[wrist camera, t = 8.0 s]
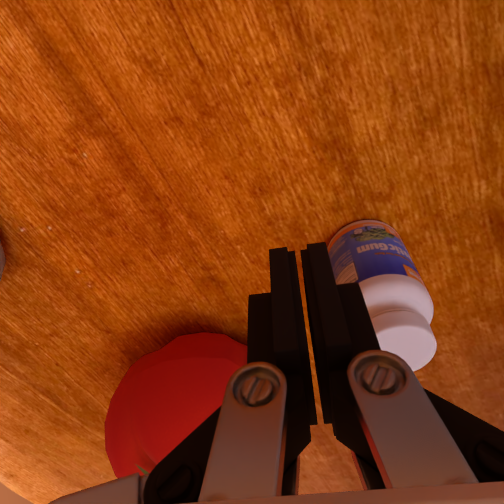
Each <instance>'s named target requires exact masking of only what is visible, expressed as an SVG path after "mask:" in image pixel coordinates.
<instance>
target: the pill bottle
mask: <svg viewBox="0 0 504 504" xmlns="http://www.w3.org/2000/svg"><path fill="white" fill-rule="evenodd" d="M327 250H328V254H329V258H330V262H331V266H332V270H333V273H334V277H335V281H336V285H337V284H345V283H354V282H358V283H359V286H360V288H361V291H362V294H363V297H364V300H365V303H366V306H367V309H368V312H369V315H370V318H371V321H372V324H373V327H374V330H375V333H376V336H377V339H378V342H379V345H380V348H381V350H383V351H388V352H391V353H394V354H396V355H398V356H399V357H401V358H402V359H403V360H405V362H406V363H407V364H408V365H409V366H410V368H411V369H412V371H416V370H418V369H420V368H422V367H423V366H425V365H426V364H427V363H428V362H429V361H430V360H431V359H432V358H433V356H434V354H435V352H436V347H437V344H436V339H435V337H434V335H433V332H432V330H431V328H430V325H429V324H430V322H431V320H432V317H433V302H432V299H431V297H430V295H429V293H428V291H427V289H426V287H425V285H424V283H423V281H422V279H421V277H420V275H419V273H418V271H417V269H416V268H415V266H414V264H413V262H412V260H411V258H410V256H409V254H408V251H407V250H406V248H405V246H404V244H403V242H402V240H401V238H400V236H399V235H398V233H397V232H396V231H395V230H394V229H393V228H392V227H391V226H389V225H387V224H386V223H383V222H380V221H376V220H362V221H357V222H354V223H351V224H349V225H347V226H345V227H344V228H342V229H341V230H340V231H338V232H337V233H336V234H335V236H334V237H333V238H332V239H331V241H330V243H329V245H328V249H327Z"/></svg>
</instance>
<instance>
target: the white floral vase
mask: <svg viewBox="0 0 504 504" xmlns="http://www.w3.org/2000/svg"><path fill="white" fill-rule="evenodd" d="M5 263H6V258H5V254H4V250H3V248H2V245H1V240H0V280H1V277H2V273H3V270H4V266H5Z"/></svg>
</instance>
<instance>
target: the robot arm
mask: <svg viewBox="0 0 504 504" xmlns="http://www.w3.org/2000/svg"><path fill="white" fill-rule="evenodd" d="M269 259H270V280H271V292H270V293H262V294H253V295H249V300H248V338H247V364H246V365H243V366H242V367H240V368H239V369H237V370H236V371H235V372H234V373H233V374H232V376H231V377H230V378H229V381H228V383H227V386H226V390H225V394H224V398H223V402H222V405H221V406H220V407H219V408H218V409H217V410H216V411H214V412H213V413H212V414H211V415H210V416H209V417H208V418H207V419H206V420H205V421H204V422H202V423H201V424H200V425H199V426H198V427H197V428H196V429H195V430H194V431H193V432H192V433H191V434H189V435H188V436H187V437H186V438H185V439H184V440H183V441H182V442H181V443H180V444H179V445H177V446H176V447H175V448H174V449H173V450H172V451H171V452H170V453H169V454H168V455H167V456H166V457H164V458H163V459H162V460H161V461H160V462H159V463H158V464H157V465H156V466H155V468H154V469H153V470H152V471H151V472H150V473H148V474H145V475H142V476H140V474H139V472H137V473H134V474H131V475H128V476H125V477H121V478H118V479H115V480H112V481H109V482H106V483H103V484H100V485H97V486H93V487H90V488H87V489H84V490H81V491H78V492H75V493H72V494H68V495H65V496H62V497H60V498H58V499H56V500H54V501H52V502H50V503H49V504H504V432H503V431H501V430H500V429H498V428H496V427H494V426H492V425H490V424H488V423H487V422H485V421H483V420H481V419H479V418H477V417H476V416H474V415H472V414H470V413H468V412H466V411H465V410H463V409H461V408H459V407H457V406H455V405H454V404H452V403H450V402H448V401H446V400H444V399H443V398H441V397H439V396H437V395H435V394H433V393H432V392H430V391H428V390H426V389H424V388H422V386H421V384H420V383H419V381H418V379H417V378H416V376H415V374H414V373H413V371H412V369H411V368H410V366H409V365H408V364H407V363H406V362H405V360H403V359H402V358H401V357H399V356H398V355H396V354H394V353H391V352H388V351H383V350H381V348H380V345H379V342H378V339H377V336H376V333H375V330H374V327H373V324H372V321H371V318H370V315H369V312H368V309H367V306H366V303H365V300H364V297H363V294H362V291H361V288H360V286H359V283H358V282H354V283H345V284H337V285H336V281H335V277H334V273H333V270H332V266H331V262H330V258H329V254H328V250H327V246H326V243H325V242H321V243H314V244H307V249H305V250H301V260H302V268H303V277H304V285H305V294H306V303H307V311H308V320H309V327H310V333H311V340H312V347H313V353H314V360H315V367H316V373H317V380H318V386H319V393H320V400H321V406H322V413H323V419H324V424H329V423H332V426H333V432H334V436H336V439H337V440H339V441H340V442H341V443H343V444H344V445H345V446H347V447H348V448H349V449H351V454H352V458H353V461H354V464H355V467H356V469H357V472H358V475H359V478H360V481H361V483H362V486H363V489H364V490H363V491H348V492H334V493H319V494H305V495H298V488H299V472H300V455H299V454H300V453H301V452H302V451H303V450H304V448H305V447H306V446H307V445H308V444H309V443H310V441H311V433H310V425H318V424H317V415H316V407H315V399H314V391H313V383H312V375H311V367H310V359H309V351H308V343H307V336H306V329H305V321H304V314H303V307H302V300H301V293H300V285H299V278H298V271H297V264H296V257H295V251H289V252H288V250H287V247H283V248H275V249H269Z"/></svg>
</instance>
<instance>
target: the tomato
mask: <svg viewBox="0 0 504 504" xmlns="http://www.w3.org/2000/svg"><path fill="white" fill-rule="evenodd" d="M246 364H247V345H244V344H241V343H239V342H237V341H235V340H233V339H232V338H230V337H229V336H227V335H225V334H218V333H207V332H200V333H194V334H187V335H182V336H177V337H176V338H175V339H173V340H172V341H171V342H169V343H168V344H167V345H165V346H164V347H162V348H161V349H160V350H157V351H154V352H151V353H148V354H145V355H143V356H142V357H141V358H140V359H139V360H137V361H136V362H135V363H134V364H133V365H131V367H130V368H129V370H128V371H127V373H126V374H125V376H124V377H123V379H122V381H121V382H120V384H119V385H118V387H117V389H116V391H115V393H114V395H113V397H112V398H111V401H110V405H109V409H108V412H107V416H106V420H105V448H106V452H107V455H108V458H109V460H110V463H111V465H112V468H113V471H114V473H115V476H116V477H117V478H121V477H125V476H128V475H131V474H134V473H137V472H139V474H140V476H142V475H145V474H148V473H150V472H151V471H152V470H153V469H154V468H155V466H156V465H157V464H158V463H159V462H160V461H161V460H162V459H163V458H164V457H166V456H167V455H168V454H169V453H170V452H171V451H172V450H173V449H174V448H175V447H176V446H177V445H179V444H180V443H181V442H182V441H183V440H184V439H185V438H186V437H187V436H188V435H189V434H191V433H192V432H193V431H194V430H195V429H196V428H197V427H198V426H199V425H200V424H201V423H202V422H204V421H205V420H206V419H207V418H208V417H209V416H210V415H211V414H212V413H213V412H214V411H216V410H217V409H218V408H219V407H220V406H221V405H222V402H223V398H224V394H225V390H226V386H227V383H228V381H229V378H230V377H231V376H232V374H233V373H234V372H235V371H236V370H237V369H239V368H240V367H242V366H243V365H246Z"/></svg>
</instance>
